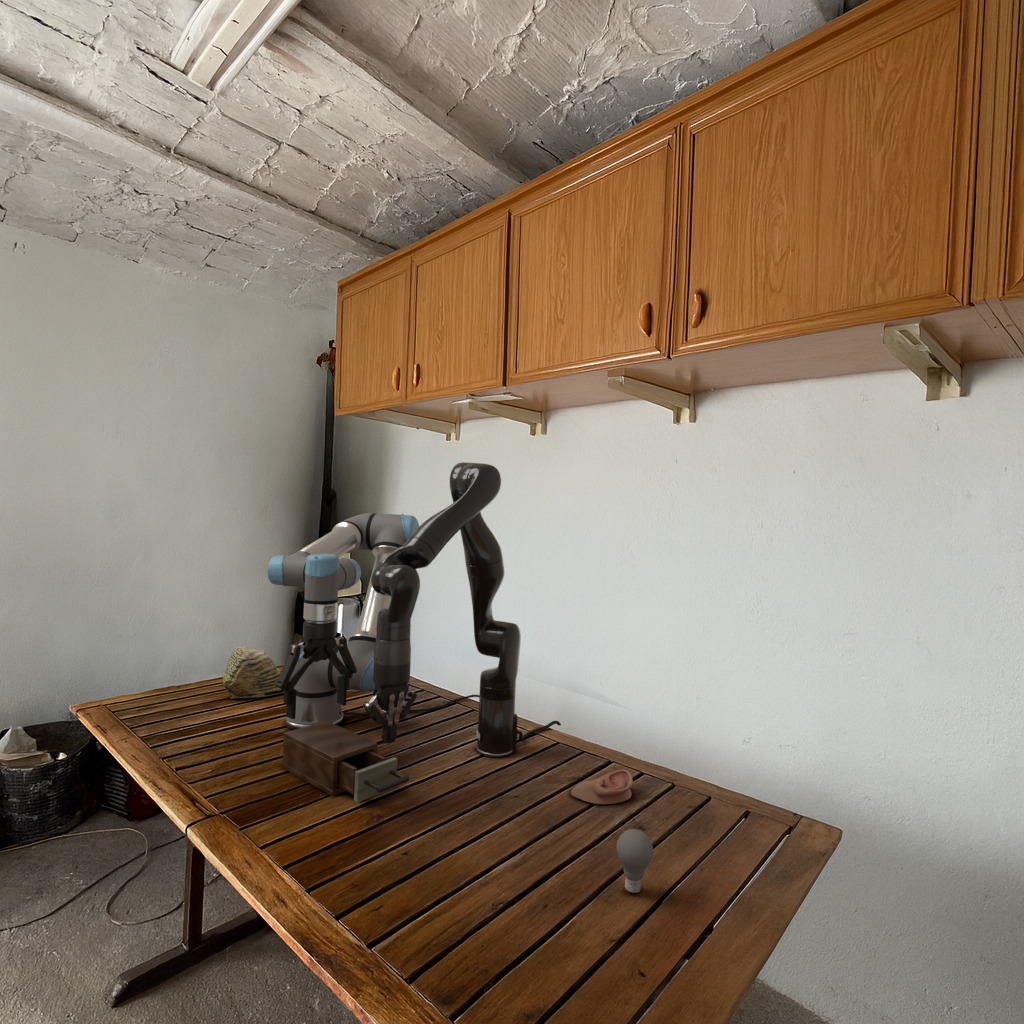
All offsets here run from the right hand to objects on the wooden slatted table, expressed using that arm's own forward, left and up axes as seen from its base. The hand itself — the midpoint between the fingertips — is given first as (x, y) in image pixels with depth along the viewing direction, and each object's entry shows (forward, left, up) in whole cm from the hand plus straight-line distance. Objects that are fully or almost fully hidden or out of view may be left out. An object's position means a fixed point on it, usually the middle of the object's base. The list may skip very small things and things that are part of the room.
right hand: (389, 741), depth 132 cm
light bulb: (-31, +43, -13) cm, 55 cm away
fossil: (+22, -83, -13) cm, 87 cm away
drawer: (+4, -9, -12) cm, 15 cm away
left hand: (+11, -24, 0) cm, 26 cm away
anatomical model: (-46, +11, -13) cm, 49 cm away
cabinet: (+9, -19, -13) cm, 24 cm away
